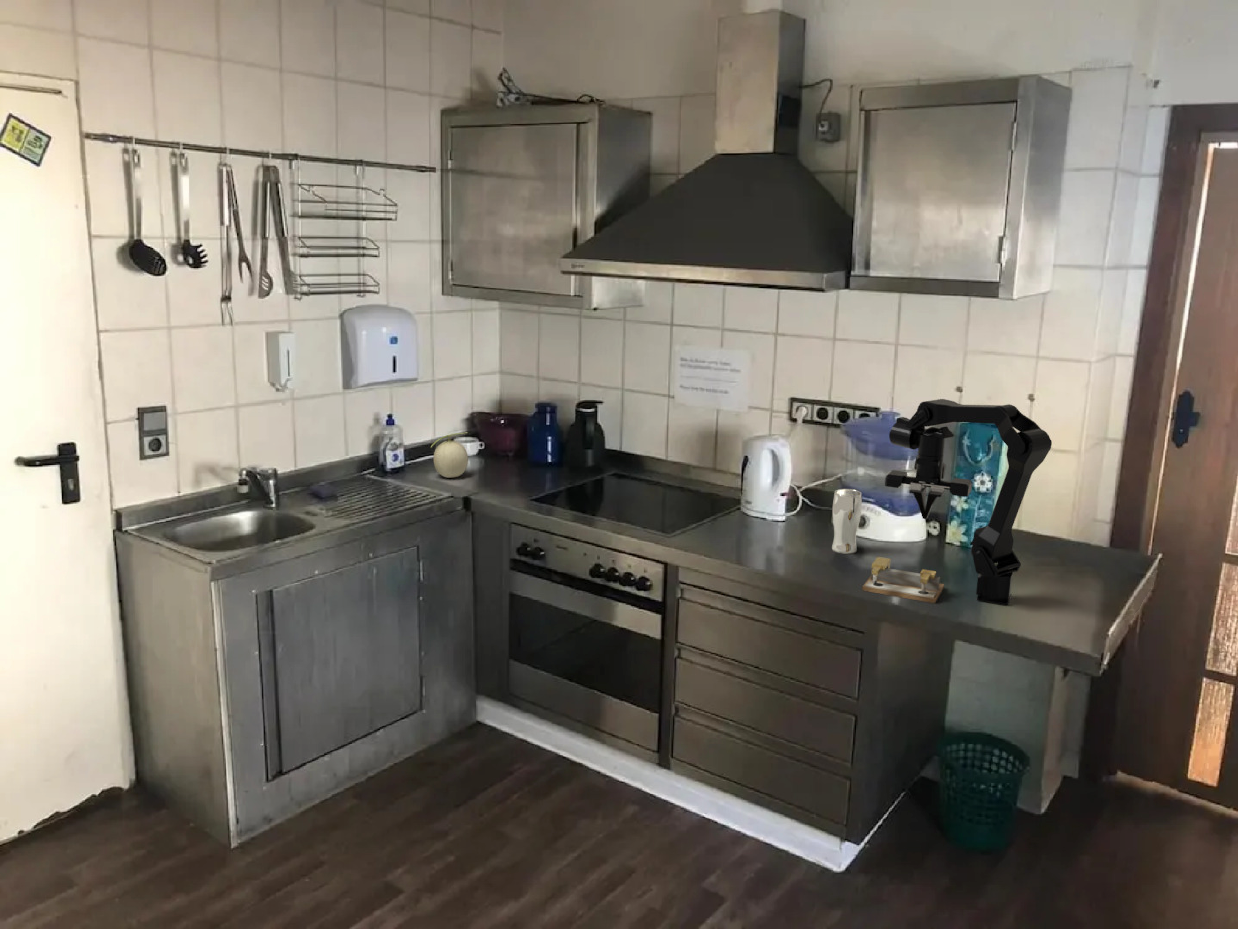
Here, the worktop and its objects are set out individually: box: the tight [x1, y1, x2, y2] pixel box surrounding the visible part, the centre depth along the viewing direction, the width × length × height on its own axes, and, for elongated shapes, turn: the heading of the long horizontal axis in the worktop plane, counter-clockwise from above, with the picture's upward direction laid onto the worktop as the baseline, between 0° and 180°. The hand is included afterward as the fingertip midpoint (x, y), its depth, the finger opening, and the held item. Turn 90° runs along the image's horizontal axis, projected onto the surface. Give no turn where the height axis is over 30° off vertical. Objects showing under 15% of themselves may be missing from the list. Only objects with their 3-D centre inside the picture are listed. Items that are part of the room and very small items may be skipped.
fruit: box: [430, 431, 469, 479], centre depth 319 cm, size 10×12×15 cm
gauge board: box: [861, 568, 945, 604], centre depth 231 cm, size 16×10×5 cm, turn 63°
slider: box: [870, 556, 892, 584], centre depth 234 cm, size 3×9×4 cm, turn 153°
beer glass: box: [831, 488, 863, 555], centre depth 256 cm, size 7×7×15 cm
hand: (924, 518), depth 240 cm, fingers closed
